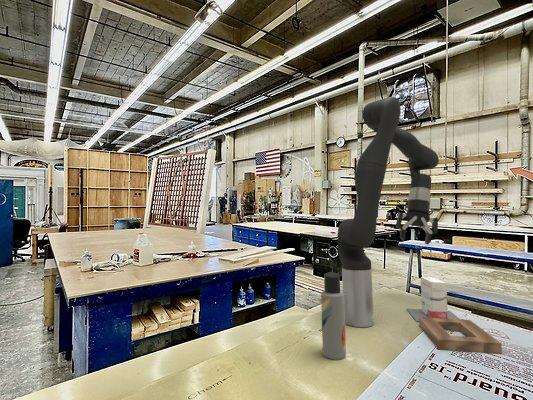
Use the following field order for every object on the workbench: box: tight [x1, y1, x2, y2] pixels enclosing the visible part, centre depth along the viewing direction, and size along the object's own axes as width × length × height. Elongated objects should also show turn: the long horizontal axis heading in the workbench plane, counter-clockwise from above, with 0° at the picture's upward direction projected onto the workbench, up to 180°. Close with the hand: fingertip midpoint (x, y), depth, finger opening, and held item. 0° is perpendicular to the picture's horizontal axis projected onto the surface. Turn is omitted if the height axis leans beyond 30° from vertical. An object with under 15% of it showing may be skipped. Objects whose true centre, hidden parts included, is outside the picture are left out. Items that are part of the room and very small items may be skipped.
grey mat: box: [405, 308, 461, 323], centre depth 96 cm, size 14×12×1 cm
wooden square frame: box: [418, 317, 503, 355], centre depth 79 cm, size 14×16×2 cm
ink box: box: [420, 276, 448, 319], centre depth 96 cm, size 9×5×12 cm, turn 174°
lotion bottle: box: [320, 271, 347, 360], centre depth 72 cm, size 6×6×20 cm
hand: (414, 242), depth 109 cm, fingers open, 8 cm apart
